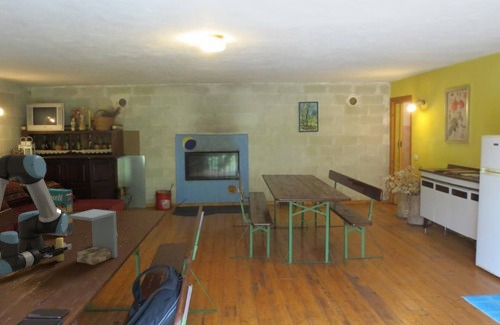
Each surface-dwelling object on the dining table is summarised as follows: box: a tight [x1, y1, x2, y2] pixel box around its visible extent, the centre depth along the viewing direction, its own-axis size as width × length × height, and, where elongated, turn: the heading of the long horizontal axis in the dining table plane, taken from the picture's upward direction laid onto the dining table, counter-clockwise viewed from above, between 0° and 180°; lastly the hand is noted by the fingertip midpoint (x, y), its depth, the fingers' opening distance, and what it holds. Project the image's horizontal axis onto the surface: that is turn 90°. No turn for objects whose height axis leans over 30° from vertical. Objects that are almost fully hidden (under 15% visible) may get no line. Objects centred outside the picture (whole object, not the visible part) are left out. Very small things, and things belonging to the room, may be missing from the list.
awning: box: [69, 208, 118, 259], centre depth 212 cm, size 16×17×26 cm
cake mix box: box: [47, 187, 75, 237], centre depth 264 cm, size 22×6×30 cm, turn 73°
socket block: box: [76, 246, 112, 266], centre depth 212 cm, size 12×12×5 cm
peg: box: [55, 237, 65, 262], centre depth 211 cm, size 4×4×12 cm
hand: (68, 245), depth 216 cm, fingers closed on peg, 3 cm apart
